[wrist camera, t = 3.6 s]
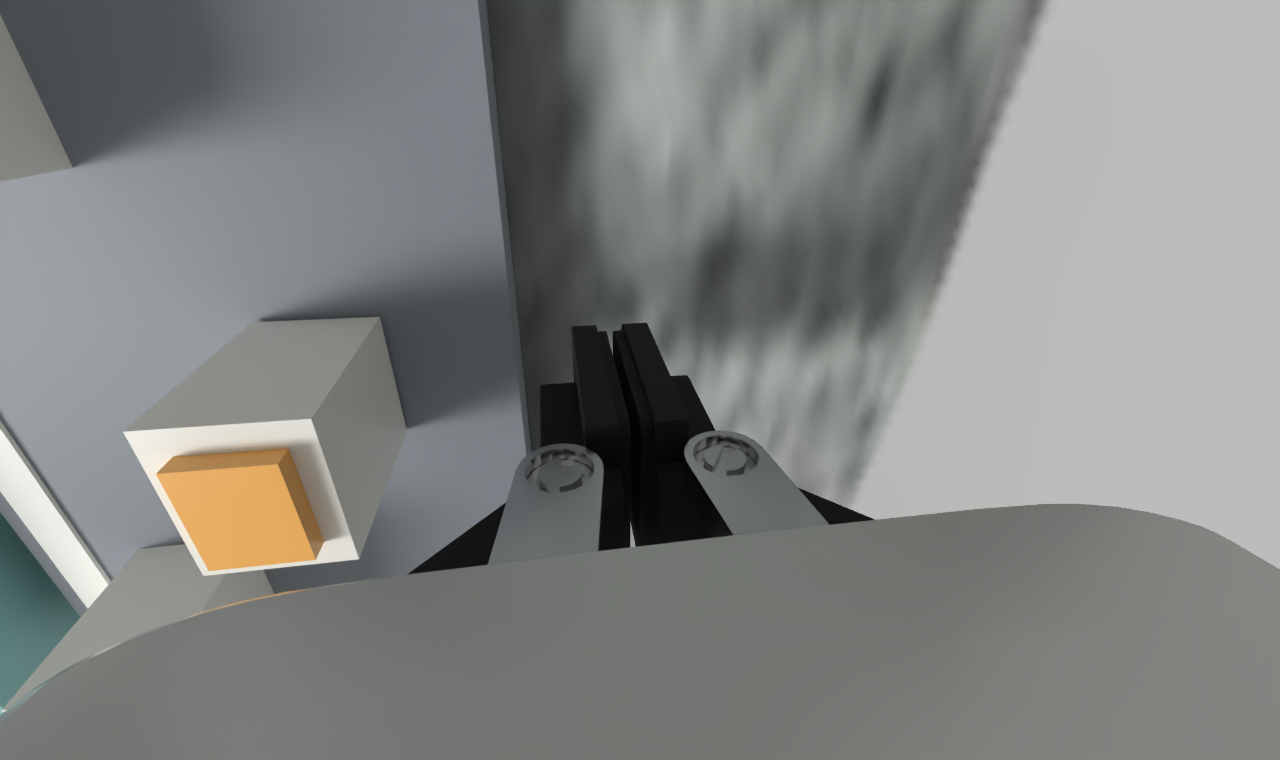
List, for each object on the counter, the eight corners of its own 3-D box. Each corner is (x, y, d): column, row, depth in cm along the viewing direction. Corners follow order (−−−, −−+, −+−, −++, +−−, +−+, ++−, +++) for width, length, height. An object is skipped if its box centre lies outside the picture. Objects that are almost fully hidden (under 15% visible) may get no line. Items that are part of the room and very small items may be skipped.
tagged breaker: (252, 322, 11) (102, 447, 7) (379, 316, 11) (300, 434, 8) (295, 439, 13) (190, 595, 9) (406, 431, 13) (351, 577, 9)
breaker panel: (-279, -80, 9) (-1493, -315, 3) (482, -38, 10) (426, -151, 5) (148, 588, 16) (-29, 820, 11) (540, 545, 18) (541, 727, 13)
